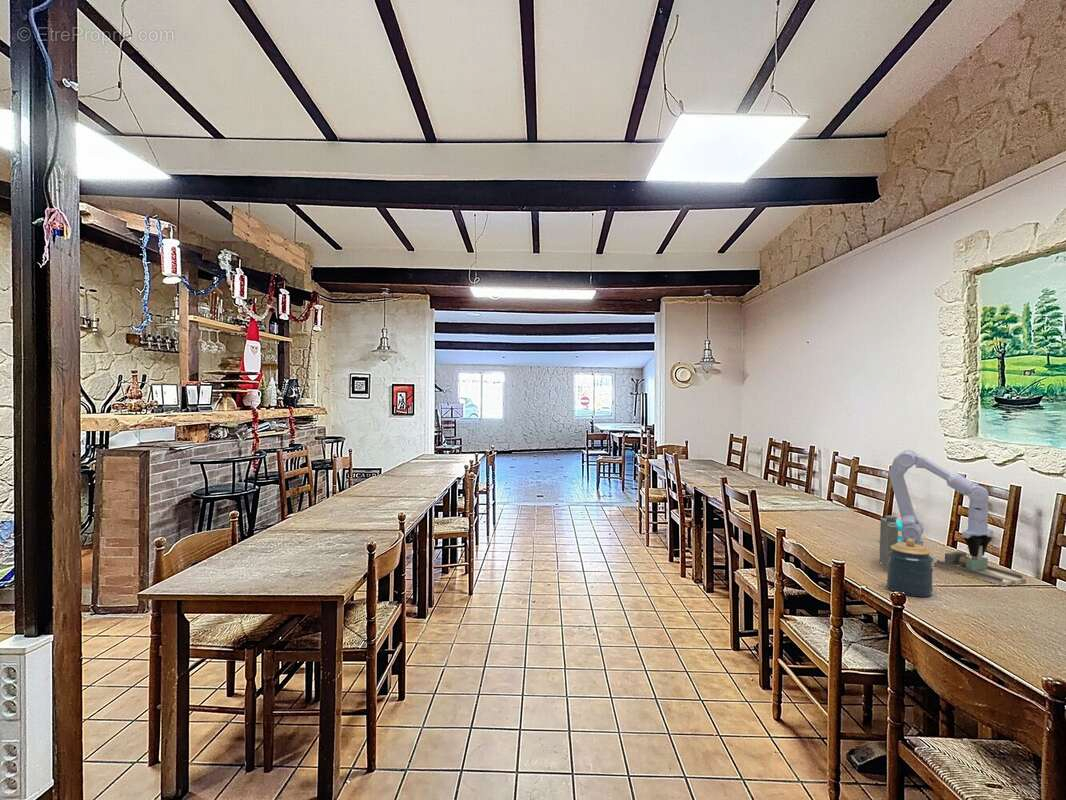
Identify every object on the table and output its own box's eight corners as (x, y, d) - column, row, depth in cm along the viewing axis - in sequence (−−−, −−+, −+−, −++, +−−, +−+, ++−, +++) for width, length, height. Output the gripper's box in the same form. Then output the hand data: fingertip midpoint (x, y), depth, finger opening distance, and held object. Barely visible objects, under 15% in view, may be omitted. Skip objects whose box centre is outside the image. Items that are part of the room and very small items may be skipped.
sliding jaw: (973, 571, 207) (973, 547, 207) (964, 569, 210) (964, 545, 210) (988, 569, 210) (989, 545, 210) (980, 567, 213) (980, 543, 213)
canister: (922, 586, 196) (923, 535, 195) (940, 599, 183) (941, 545, 183) (880, 582, 199) (881, 532, 198) (895, 595, 186) (896, 542, 186)
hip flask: (878, 561, 224) (880, 511, 223) (890, 562, 222) (891, 512, 222) (887, 573, 209) (889, 519, 209) (900, 575, 207) (901, 520, 207)
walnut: (967, 568, 211) (967, 558, 211) (956, 565, 215) (956, 555, 215) (974, 567, 212) (974, 557, 212) (963, 564, 216) (963, 554, 216)
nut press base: (1004, 586, 196) (1004, 570, 196) (933, 566, 219) (934, 551, 218) (1025, 583, 200) (1026, 567, 200) (954, 563, 223) (955, 549, 223)
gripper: (976, 522, 203) (975, 560, 204) (1002, 520, 208) (1001, 556, 209) (956, 518, 210) (955, 554, 210) (981, 516, 215) (980, 551, 215)
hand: (976, 555), depth 210 cm, fingers closed on sliding jaw, 3 cm apart
